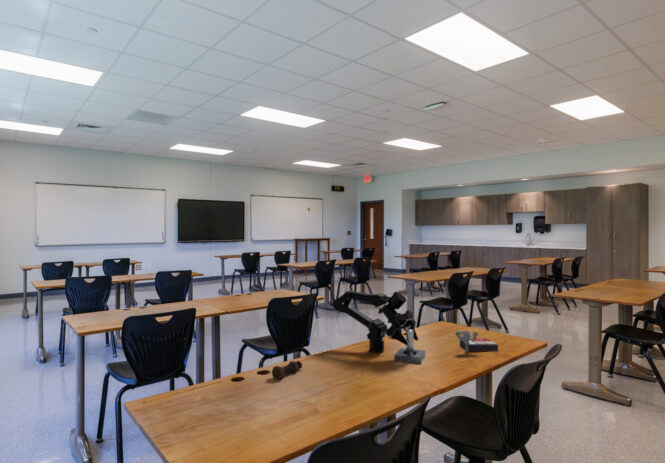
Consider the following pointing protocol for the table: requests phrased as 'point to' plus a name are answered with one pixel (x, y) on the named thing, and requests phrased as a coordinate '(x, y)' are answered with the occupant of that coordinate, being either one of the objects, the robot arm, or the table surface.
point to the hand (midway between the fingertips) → (412, 342)
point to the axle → (410, 342)
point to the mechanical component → (466, 337)
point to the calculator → (480, 345)
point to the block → (409, 356)
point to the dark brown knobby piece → (286, 369)
